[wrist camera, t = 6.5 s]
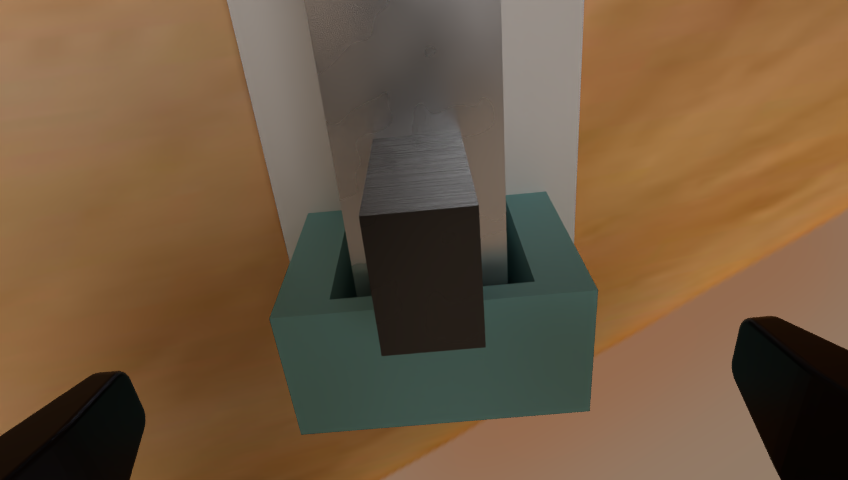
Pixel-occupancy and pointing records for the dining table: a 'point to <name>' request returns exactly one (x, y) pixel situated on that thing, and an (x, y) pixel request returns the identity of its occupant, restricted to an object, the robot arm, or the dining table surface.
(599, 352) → the dining table surface
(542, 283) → the socket block
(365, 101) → the grey bar with tab
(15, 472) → the robot arm
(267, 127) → the base board
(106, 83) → the dining table surface
